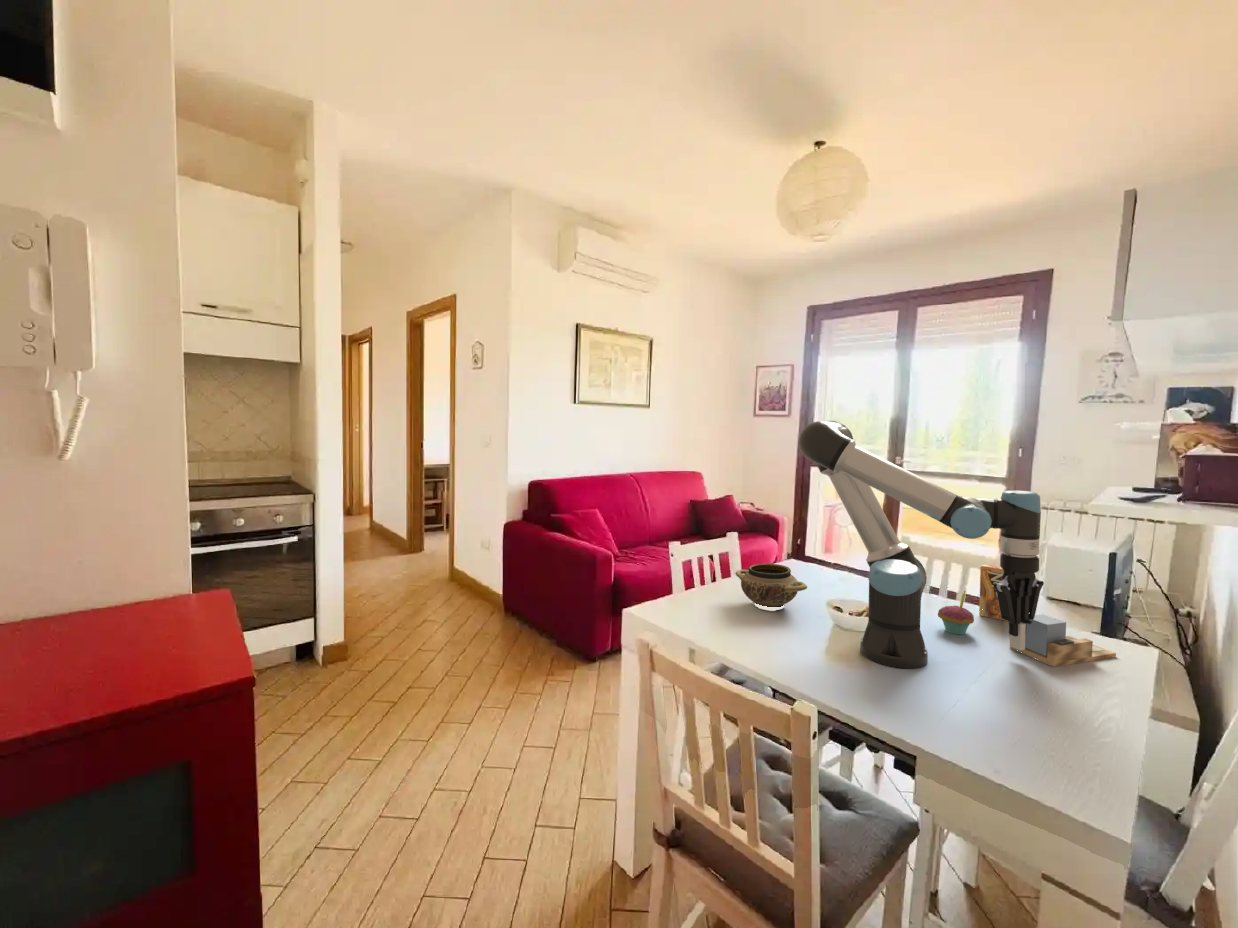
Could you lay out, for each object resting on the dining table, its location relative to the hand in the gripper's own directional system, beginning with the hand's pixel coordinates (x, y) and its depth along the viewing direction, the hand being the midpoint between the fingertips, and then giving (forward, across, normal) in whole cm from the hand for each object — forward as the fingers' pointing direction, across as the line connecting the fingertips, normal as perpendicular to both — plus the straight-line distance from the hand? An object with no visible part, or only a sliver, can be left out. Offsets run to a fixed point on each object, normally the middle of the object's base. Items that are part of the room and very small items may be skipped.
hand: (1017, 647), depth 126 cm
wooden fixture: (+3, +15, 0) cm, 15 cm away
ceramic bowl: (+3, -39, +50) cm, 64 cm away
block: (+2, +9, 0) cm, 9 cm away
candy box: (+3, +22, +23) cm, 32 cm away
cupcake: (+3, +1, +18) cm, 18 cm away
